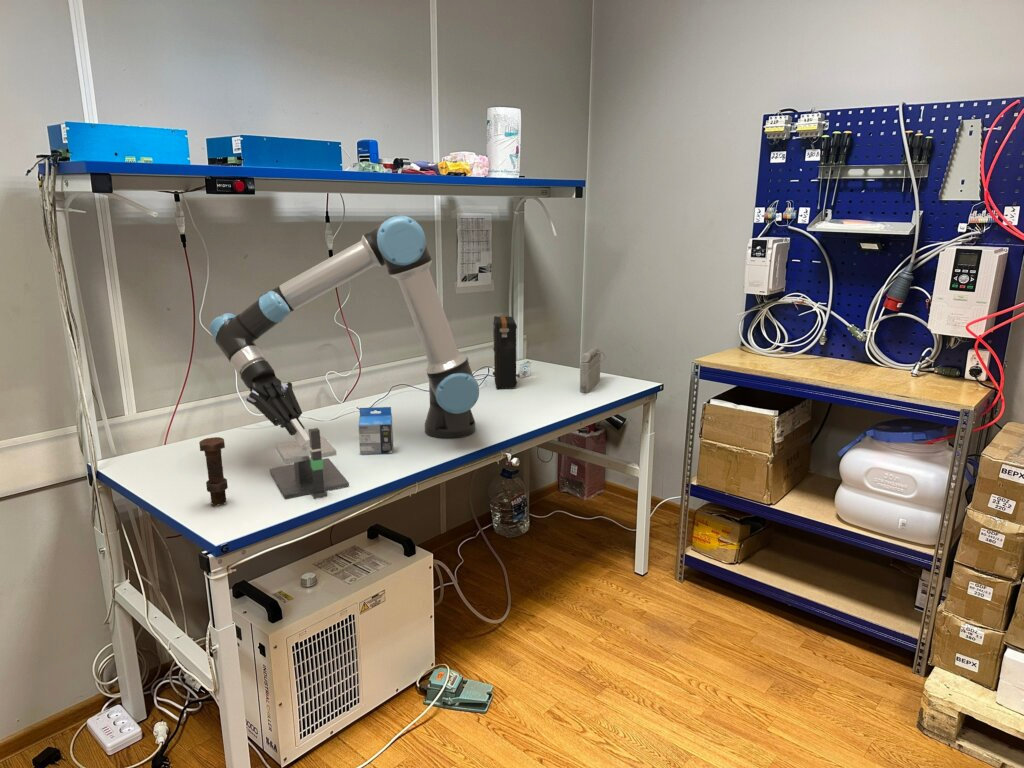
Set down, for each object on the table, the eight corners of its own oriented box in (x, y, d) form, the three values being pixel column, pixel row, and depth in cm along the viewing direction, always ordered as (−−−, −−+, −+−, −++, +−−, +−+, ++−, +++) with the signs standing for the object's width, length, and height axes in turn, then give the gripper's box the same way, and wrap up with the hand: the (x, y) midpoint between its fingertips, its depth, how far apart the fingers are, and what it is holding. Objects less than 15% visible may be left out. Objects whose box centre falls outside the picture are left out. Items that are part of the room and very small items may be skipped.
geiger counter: (590, 343, 263) (573, 357, 240) (606, 344, 261) (591, 358, 238) (589, 379, 267) (573, 395, 244) (606, 380, 264) (590, 397, 242)
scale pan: (325, 461, 178) (323, 436, 177) (342, 482, 165) (340, 455, 163) (277, 469, 173) (275, 444, 171) (291, 492, 159) (288, 464, 158)
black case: (492, 379, 267) (491, 315, 260) (514, 379, 267) (514, 314, 261) (493, 390, 252) (493, 322, 245) (517, 389, 252) (517, 321, 246)
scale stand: (328, 461, 182) (324, 403, 178) (352, 490, 163) (348, 426, 159) (269, 472, 175) (263, 411, 171) (287, 504, 156) (281, 436, 152)
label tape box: (359, 455, 187) (356, 411, 184) (361, 449, 191) (358, 407, 188) (392, 454, 188) (390, 410, 184) (393, 448, 192) (391, 406, 188)
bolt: (206, 500, 158) (198, 438, 155) (230, 496, 160) (223, 435, 157) (207, 510, 153) (199, 446, 149) (231, 506, 155) (224, 443, 152)
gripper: (268, 372, 180) (318, 443, 176) (225, 382, 169) (277, 459, 165) (280, 354, 176) (332, 427, 172) (237, 364, 165) (291, 442, 161)
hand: (305, 443), depth 168 cm, fingers closed
